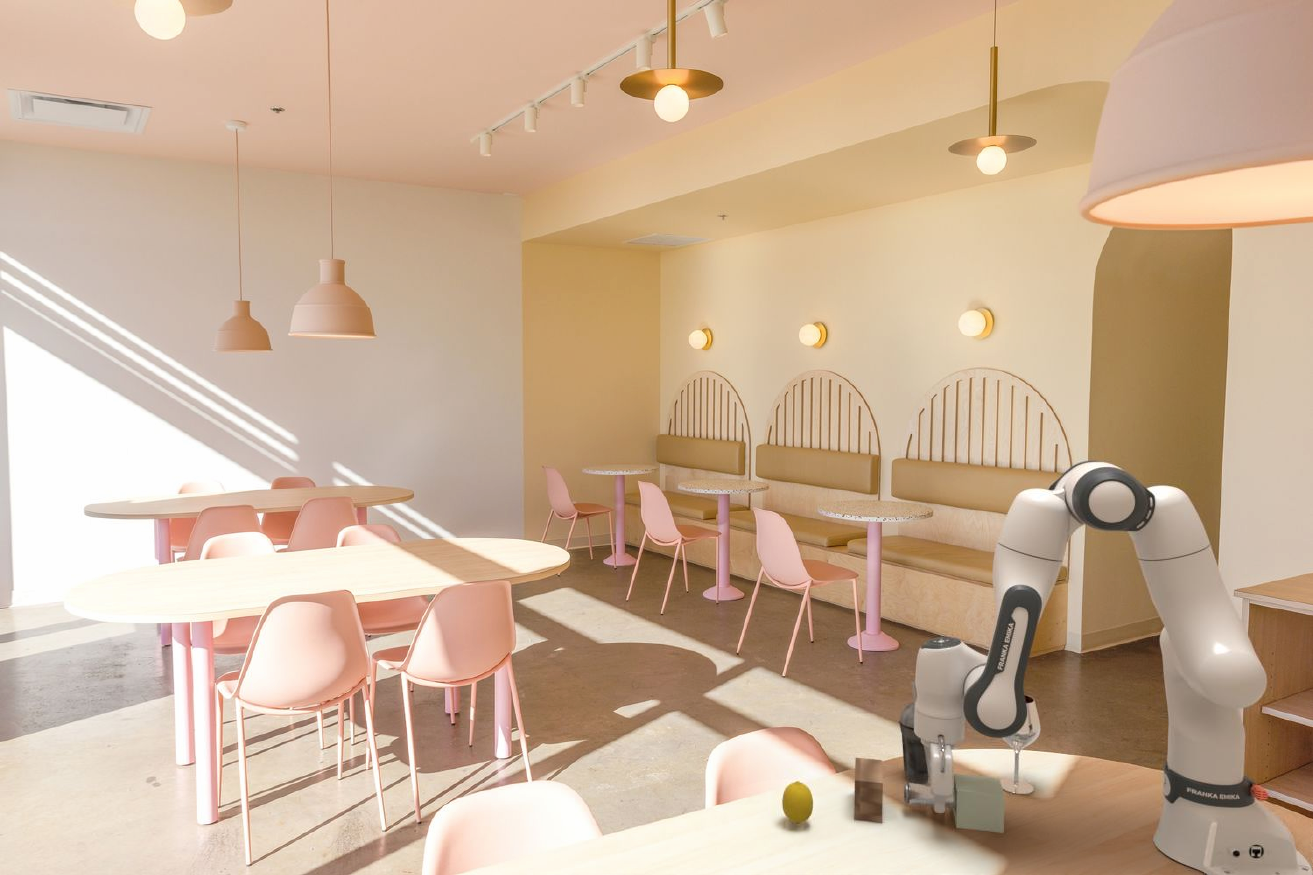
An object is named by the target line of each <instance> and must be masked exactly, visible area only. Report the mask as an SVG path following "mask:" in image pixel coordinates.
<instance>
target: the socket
mask: <svg viewBox="0 0 1313 875" xmlns="http://www.w3.org/2000/svg"><path fill="white" fill-rule="evenodd" d="M883 771H884V770H883V760H882V759H874V758H863V757H855V764H854V804H853V805H854V807H853V810H854V811H853V818H854V819H853V820H854V821H859V822H860V821H861V822H868V823H877V824H883V808H884V807H883V805H884V804H883V800H884V799H883V797H884V794H883V793H884V792H883V790H884V778H883V777H884V775H883V773H884V772H883Z"/></svg>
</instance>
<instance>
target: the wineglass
mask: <svg viewBox="0 0 1313 875" xmlns="http://www.w3.org/2000/svg"><path fill="white" fill-rule="evenodd" d="M1024 696H1025V700H1026V705H1027V718H1026V721H1025V723H1024V725H1023V727H1022V728H1021V729H1020V730H1019V731H1018V732H1017V733H1015V734H1013V735H1011V736H1008V737H1004V738H1002V739H1003V741H1004V742H1006V743H1007V744H1008V745H1009V746H1010V747H1011V748H1012V750H1013V752H1014V769H1013V770H1014V772H1013V778H1003V779H1002V780H1001V779H1000V783H1001V786H1002V789H1003V791H1005V792H1007V793H1011V794H1013V795H1030V794H1032V793H1033V792H1034V790H1035V789H1034V786H1033V785H1032V784H1031V783H1030V782H1027V781H1026V780H1025V781H1024V780H1023V779H1019V778H1020V776H1019V770H1020V769H1019V768H1020V753H1021V751H1022V750H1023V749H1025V748H1026V747H1028V746H1030V745H1031V744H1032V743H1034V742H1035V741H1036V740H1037V739H1038V737H1039V736H1040V734H1041V723H1040V722H1041V721H1040V718H1039V713H1038V709H1037V706H1036V701H1035V699H1034V697H1031V696H1030V695H1026V694H1024Z"/></svg>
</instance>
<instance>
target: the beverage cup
mask: <svg viewBox="0 0 1313 875" xmlns="http://www.w3.org/2000/svg"><path fill="white" fill-rule="evenodd" d="M910 683H911V684H910V685H911V693H912V694H911V695H912V703H909V704H908V705H906V706H904V708H903V709H902V711H901V714H900V717H899V721H898V723H899V728H900V733H901V740H902V741H901V744H902V757H903V771H904V779H905V781H907V783H913V784H923V785H926V784H927V783H928V782H929V775H928V769H927V762H926V755H925V749H924V745H923V744H922V743H921V738H919V737H918V736H916V734H915V733H914V712H915V702H916V699H917V697H916V692H915V690H916V688H915V682H914V681H910Z"/></svg>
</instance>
